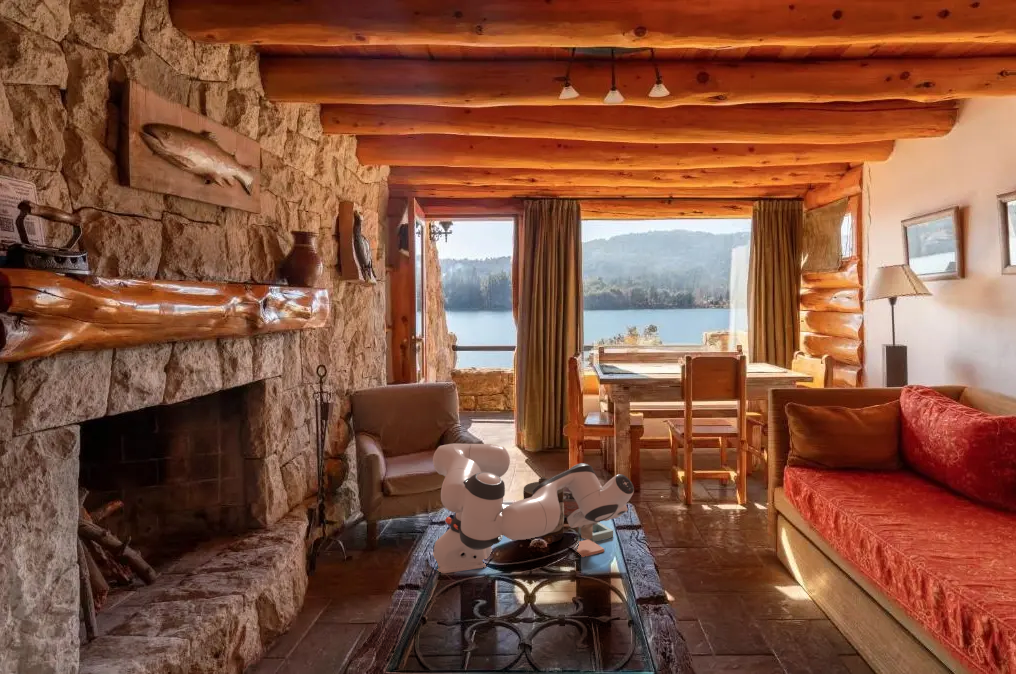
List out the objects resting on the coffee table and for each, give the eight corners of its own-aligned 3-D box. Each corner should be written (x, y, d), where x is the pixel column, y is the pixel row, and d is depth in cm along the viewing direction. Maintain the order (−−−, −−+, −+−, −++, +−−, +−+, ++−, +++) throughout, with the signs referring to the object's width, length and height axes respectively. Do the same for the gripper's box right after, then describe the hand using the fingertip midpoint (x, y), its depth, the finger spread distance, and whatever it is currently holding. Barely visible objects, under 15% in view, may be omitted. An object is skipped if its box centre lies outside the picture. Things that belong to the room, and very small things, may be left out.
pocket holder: (592, 542, 217) (593, 535, 217) (578, 533, 225) (578, 526, 225) (613, 537, 222) (613, 530, 221) (598, 528, 229) (598, 521, 229)
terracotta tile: (582, 557, 206) (582, 554, 206) (568, 547, 214) (568, 544, 213) (604, 551, 210) (604, 548, 210) (589, 541, 218) (589, 539, 218)
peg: (585, 540, 209) (585, 517, 208) (578, 535, 212) (578, 513, 211) (594, 537, 210) (594, 515, 210) (588, 533, 214) (588, 511, 213)
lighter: (581, 515, 242) (581, 490, 241) (581, 518, 239) (581, 493, 238) (561, 514, 243) (561, 490, 242) (561, 517, 240) (561, 493, 239)
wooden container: (537, 548, 213) (537, 487, 211) (515, 533, 226) (515, 475, 223) (571, 538, 220) (572, 479, 218) (548, 524, 233) (548, 468, 231)
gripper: (581, 521, 195) (564, 539, 204) (632, 509, 204) (613, 527, 214) (573, 503, 198) (557, 521, 208) (623, 492, 208) (606, 510, 217)
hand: (586, 524), depth 211 cm, fingers closed on peg, 4 cm apart
